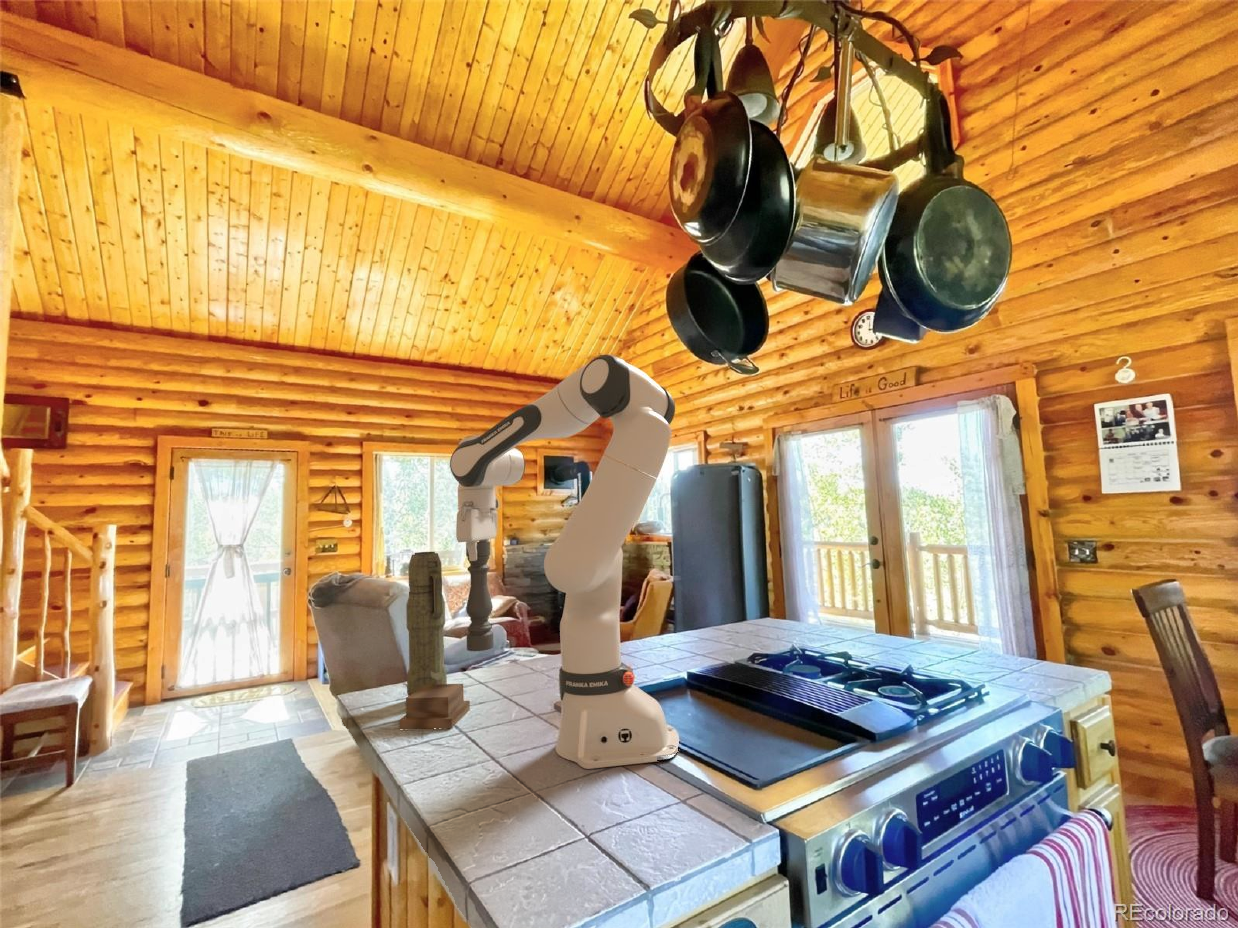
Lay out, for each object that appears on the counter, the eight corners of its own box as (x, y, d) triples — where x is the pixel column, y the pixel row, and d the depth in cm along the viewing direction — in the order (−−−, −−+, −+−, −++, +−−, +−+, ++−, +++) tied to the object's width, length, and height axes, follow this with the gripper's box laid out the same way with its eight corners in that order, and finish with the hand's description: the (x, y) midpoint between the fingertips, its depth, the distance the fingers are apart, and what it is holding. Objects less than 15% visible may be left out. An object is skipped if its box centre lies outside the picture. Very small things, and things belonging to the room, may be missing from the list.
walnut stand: (469, 709, 123) (469, 682, 123) (451, 728, 112) (451, 698, 113) (421, 711, 124) (421, 683, 124) (399, 730, 113) (398, 700, 113)
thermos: (428, 711, 124) (425, 553, 127) (395, 703, 130) (393, 554, 133) (459, 699, 131) (455, 550, 134) (426, 692, 137) (424, 551, 141)
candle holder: (499, 646, 132) (496, 541, 134) (479, 652, 127) (477, 542, 129) (480, 644, 135) (478, 541, 138) (461, 649, 130) (459, 543, 132)
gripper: (475, 500, 124) (477, 562, 122) (500, 502, 144) (502, 555, 143) (448, 502, 124) (449, 564, 123) (477, 503, 144) (479, 557, 143)
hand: (478, 559), depth 133 cm, fingers closed on candle holder, 6 cm apart
